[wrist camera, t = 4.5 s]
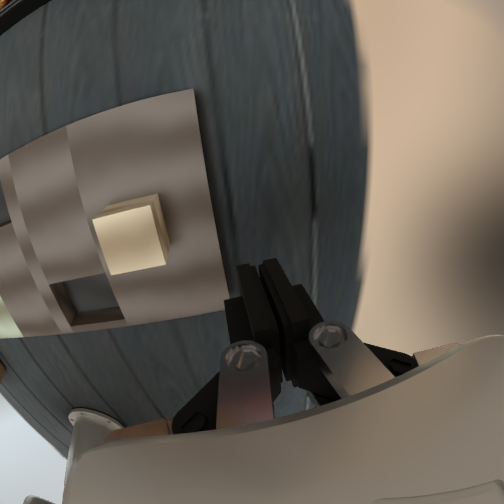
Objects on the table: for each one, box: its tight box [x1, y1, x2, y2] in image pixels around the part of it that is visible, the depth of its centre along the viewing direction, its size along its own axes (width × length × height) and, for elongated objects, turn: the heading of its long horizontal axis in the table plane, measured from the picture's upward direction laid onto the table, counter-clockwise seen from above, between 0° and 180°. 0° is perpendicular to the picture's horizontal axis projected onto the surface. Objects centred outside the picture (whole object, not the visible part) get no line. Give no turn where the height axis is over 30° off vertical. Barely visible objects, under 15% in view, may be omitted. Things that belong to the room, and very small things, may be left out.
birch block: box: [92, 193, 170, 275], centre depth 21 cm, size 5×5×4 cm
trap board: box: [0, 89, 230, 338], centre depth 22 cm, size 22×40×6 cm, turn 97°
